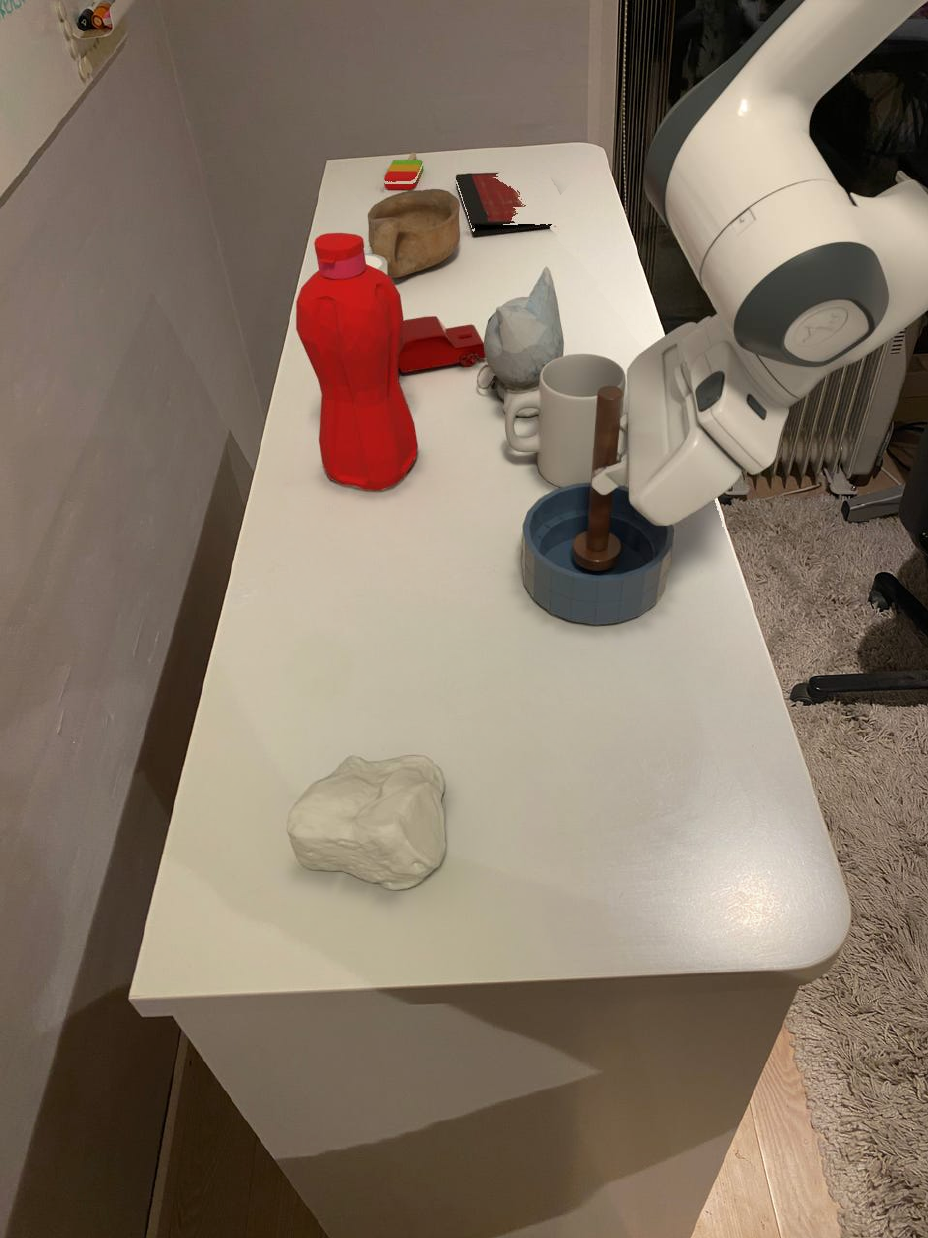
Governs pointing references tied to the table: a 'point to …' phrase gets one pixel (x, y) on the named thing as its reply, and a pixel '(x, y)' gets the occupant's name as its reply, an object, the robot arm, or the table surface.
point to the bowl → (414, 229)
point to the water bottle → (356, 365)
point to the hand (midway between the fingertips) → (596, 473)
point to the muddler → (597, 542)
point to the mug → (565, 415)
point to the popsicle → (403, 173)
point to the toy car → (437, 344)
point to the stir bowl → (590, 590)
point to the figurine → (523, 342)
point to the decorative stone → (373, 821)
